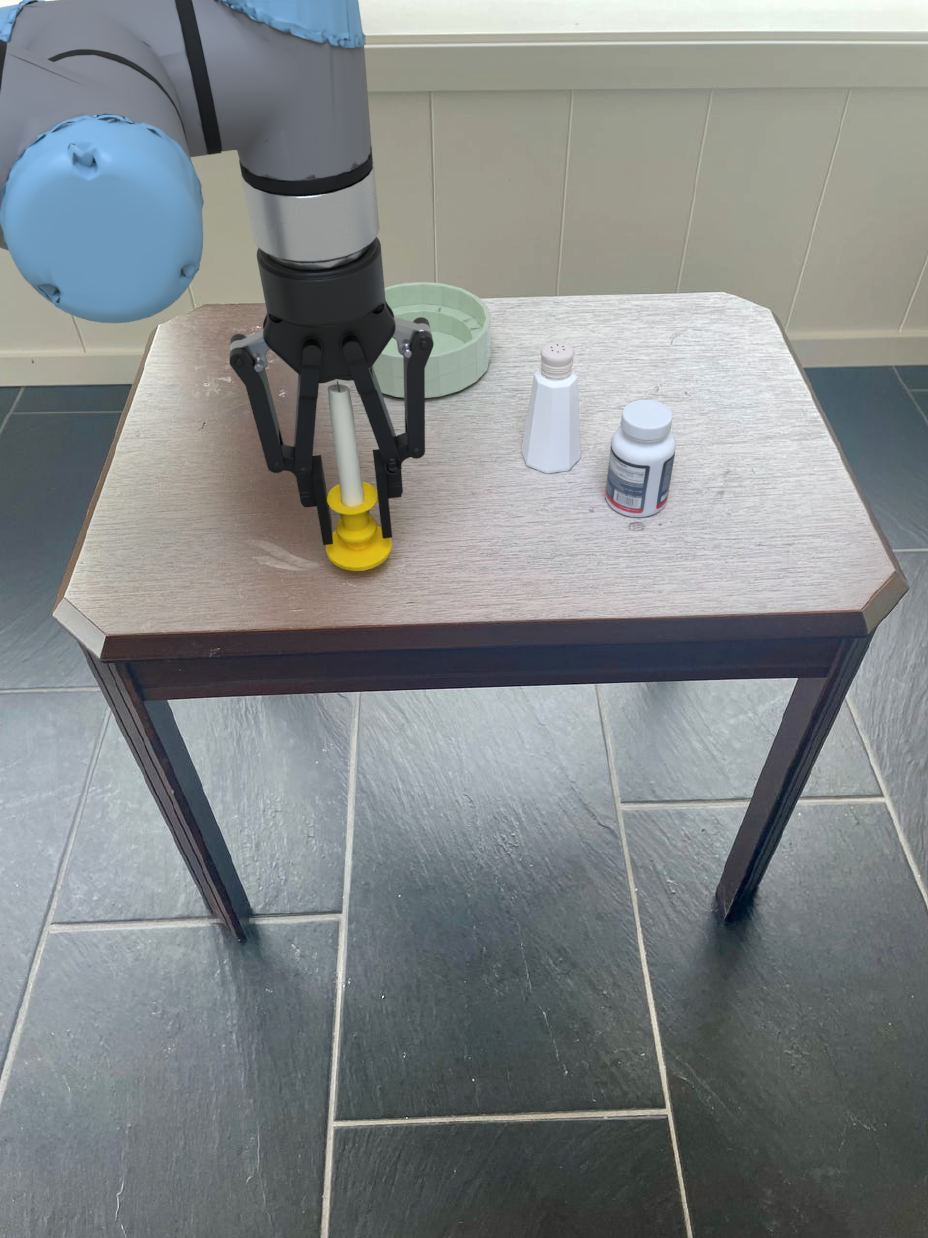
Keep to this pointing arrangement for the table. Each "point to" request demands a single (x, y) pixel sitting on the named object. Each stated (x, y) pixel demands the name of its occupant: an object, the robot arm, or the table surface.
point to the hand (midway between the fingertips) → (356, 529)
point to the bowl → (439, 337)
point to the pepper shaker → (553, 412)
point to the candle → (352, 495)
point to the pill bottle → (641, 459)
